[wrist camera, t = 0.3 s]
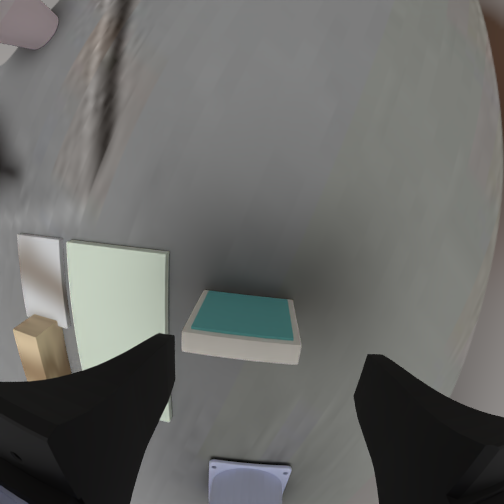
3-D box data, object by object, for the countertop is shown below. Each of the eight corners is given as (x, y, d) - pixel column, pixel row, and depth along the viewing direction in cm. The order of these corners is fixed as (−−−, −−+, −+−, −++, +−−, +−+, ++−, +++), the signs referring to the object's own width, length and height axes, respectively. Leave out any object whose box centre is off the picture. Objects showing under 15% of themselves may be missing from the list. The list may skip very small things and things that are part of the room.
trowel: (84, 392, 24) (67, 416, 20) (46, 378, 24) (27, 398, 20) (63, 238, 20) (32, 249, 17) (21, 232, 20) (-9, 242, 17)
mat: (172, 416, 24) (170, 422, 23) (93, 396, 24) (89, 400, 23) (169, 251, 20) (165, 254, 19) (72, 239, 20) (66, 241, 19)
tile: (290, 315, 21) (297, 364, 15) (203, 305, 21) (181, 351, 15) (293, 297, 20) (302, 342, 15) (204, 287, 21) (181, 328, 15)
